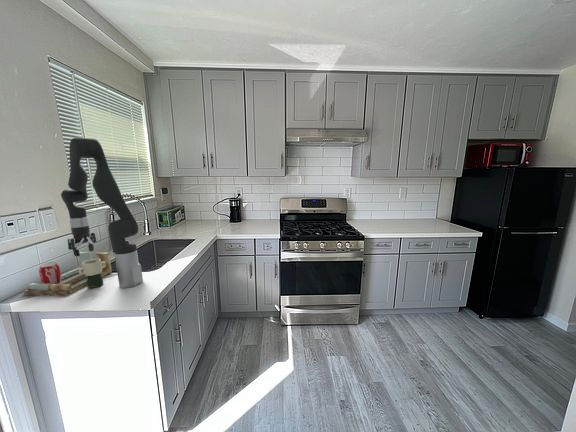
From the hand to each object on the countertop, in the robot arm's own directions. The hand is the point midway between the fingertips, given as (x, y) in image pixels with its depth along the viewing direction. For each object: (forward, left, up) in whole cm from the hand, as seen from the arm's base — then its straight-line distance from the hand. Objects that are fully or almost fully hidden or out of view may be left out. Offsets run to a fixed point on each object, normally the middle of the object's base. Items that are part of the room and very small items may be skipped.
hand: (84, 253), depth 132 cm
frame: (-5, +15, -11) cm, 19 cm away
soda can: (0, +19, -11) cm, 22 cm away
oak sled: (-11, +13, -11) cm, 20 cm away
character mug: (-20, +16, -11) cm, 28 cm away
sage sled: (0, +13, -11) cm, 17 cm away
